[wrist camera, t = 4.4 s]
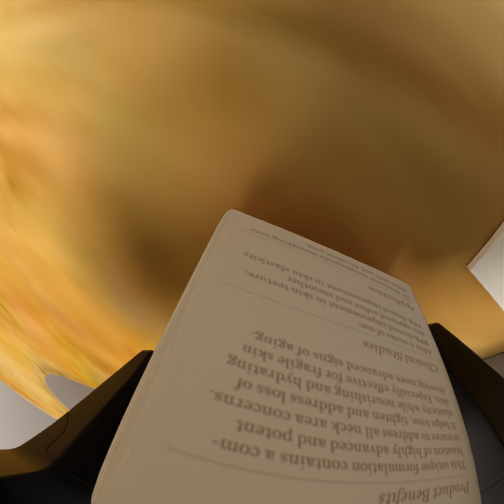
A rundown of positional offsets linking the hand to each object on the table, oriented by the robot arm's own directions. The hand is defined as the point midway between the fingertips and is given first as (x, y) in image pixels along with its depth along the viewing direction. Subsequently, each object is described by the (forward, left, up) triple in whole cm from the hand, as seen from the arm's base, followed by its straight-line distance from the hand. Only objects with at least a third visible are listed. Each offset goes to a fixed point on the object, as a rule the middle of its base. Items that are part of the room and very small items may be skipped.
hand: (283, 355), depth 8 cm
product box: (0, 0, -2) cm, 2 cm away
